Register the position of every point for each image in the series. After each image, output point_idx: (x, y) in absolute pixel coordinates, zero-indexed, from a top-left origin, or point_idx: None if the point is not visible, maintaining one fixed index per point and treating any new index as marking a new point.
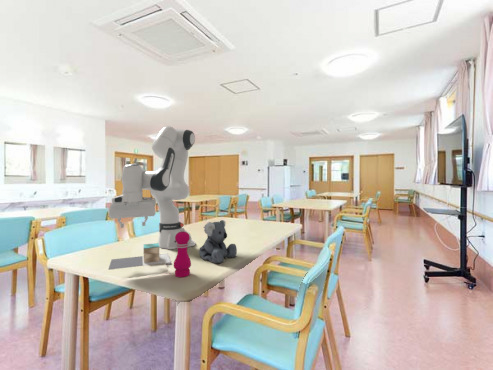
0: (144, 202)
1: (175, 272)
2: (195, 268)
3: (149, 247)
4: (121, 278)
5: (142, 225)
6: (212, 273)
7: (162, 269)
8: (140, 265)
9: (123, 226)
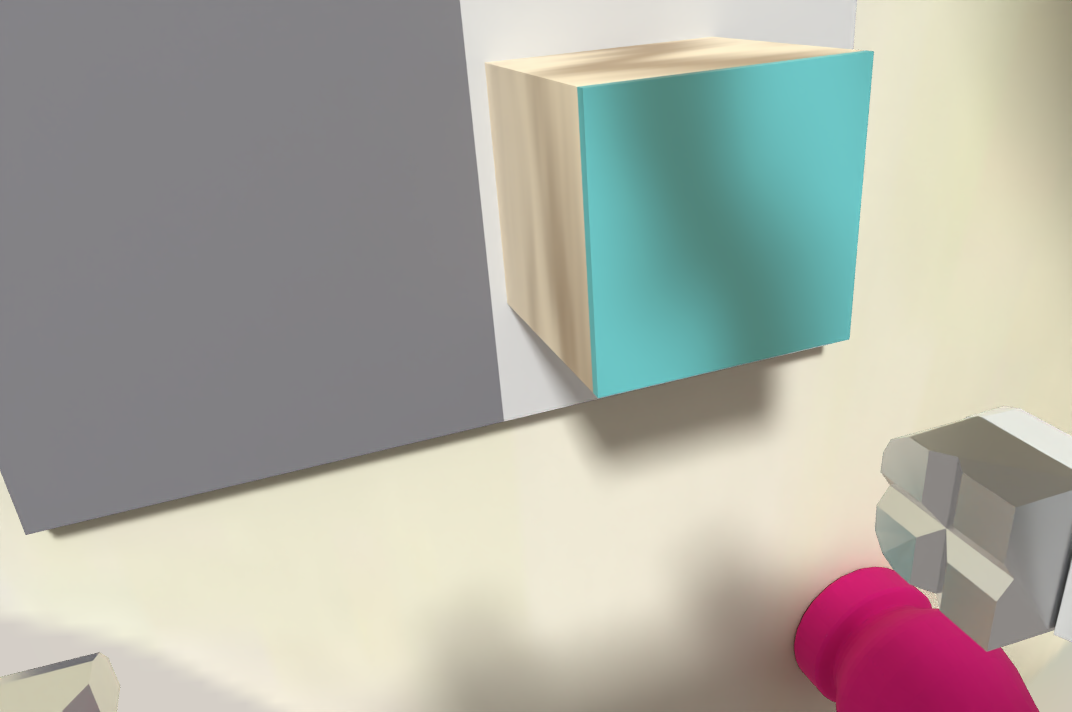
0: None
1: (815, 682)
2: None
3: (694, 372)
4: (301, 706)
5: (899, 563)
6: None
7: (709, 487)
8: (473, 415)
9: None
